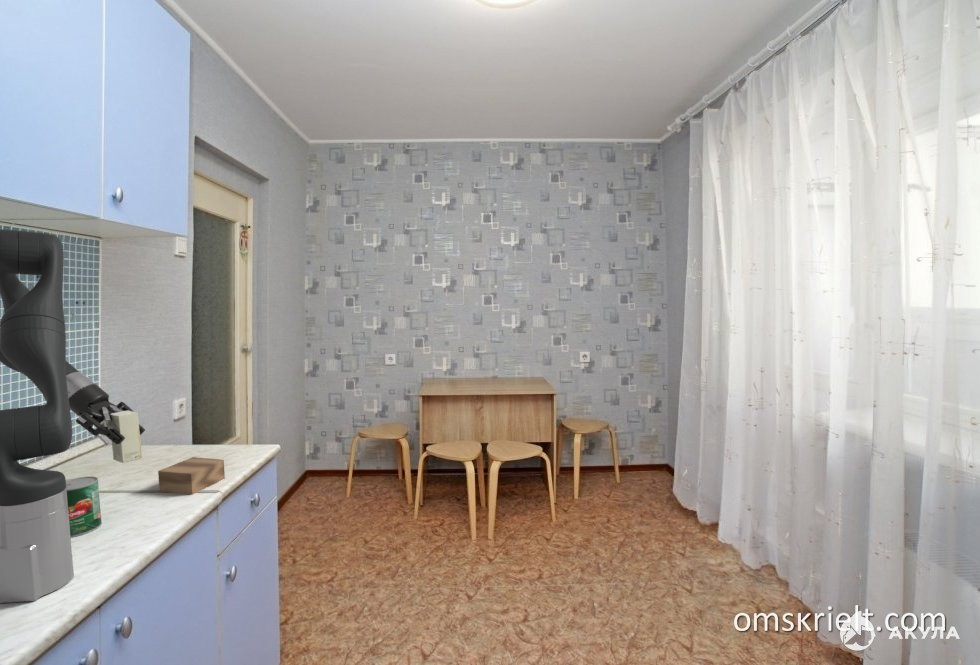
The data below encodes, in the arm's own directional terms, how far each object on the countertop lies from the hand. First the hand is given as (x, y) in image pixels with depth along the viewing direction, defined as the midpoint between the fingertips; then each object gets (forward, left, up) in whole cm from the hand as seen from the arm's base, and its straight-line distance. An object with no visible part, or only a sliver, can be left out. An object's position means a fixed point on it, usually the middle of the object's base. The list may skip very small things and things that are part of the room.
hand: (132, 437), depth 117 cm
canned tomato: (-14, +3, -17) cm, 23 cm away
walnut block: (+10, -9, -18) cm, 22 cm away
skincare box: (0, +2, -6) cm, 6 cm away
